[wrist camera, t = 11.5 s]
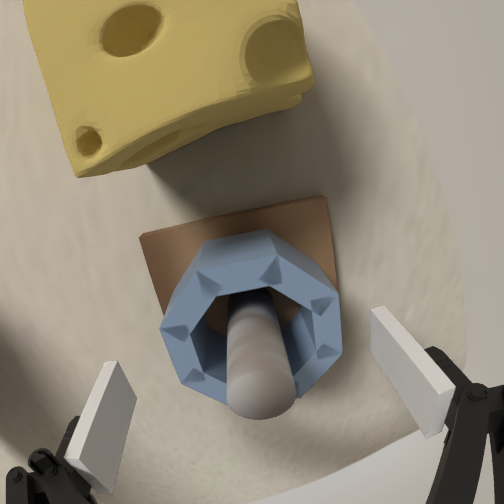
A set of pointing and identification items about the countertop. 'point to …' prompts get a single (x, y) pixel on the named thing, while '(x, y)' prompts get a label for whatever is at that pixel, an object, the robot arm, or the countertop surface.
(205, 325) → the ring
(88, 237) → the countertop surface
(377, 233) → the countertop surface
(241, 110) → the cheese
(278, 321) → the post
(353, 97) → the countertop surface
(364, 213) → the countertop surface
